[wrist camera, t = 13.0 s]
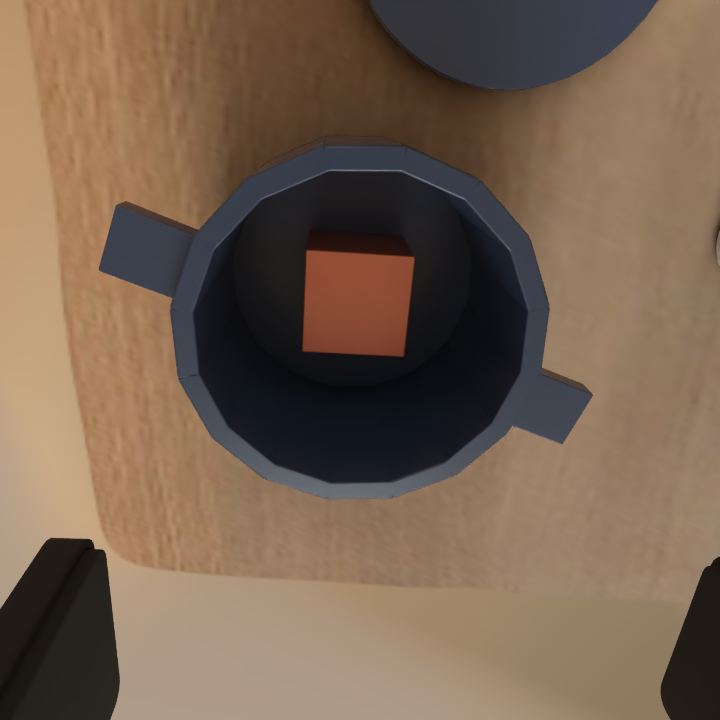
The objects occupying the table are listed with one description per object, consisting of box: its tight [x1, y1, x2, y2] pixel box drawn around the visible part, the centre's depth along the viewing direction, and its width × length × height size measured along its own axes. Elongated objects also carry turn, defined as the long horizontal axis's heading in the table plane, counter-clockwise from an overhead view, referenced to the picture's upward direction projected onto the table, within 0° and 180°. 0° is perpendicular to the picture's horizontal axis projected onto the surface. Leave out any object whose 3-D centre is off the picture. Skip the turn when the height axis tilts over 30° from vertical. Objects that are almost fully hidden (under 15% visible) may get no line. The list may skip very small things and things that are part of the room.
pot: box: [99, 136, 593, 499], centre depth 25 cm, size 13×19×10 cm
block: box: [302, 230, 415, 357], centre depth 27 cm, size 4×4×4 cm
